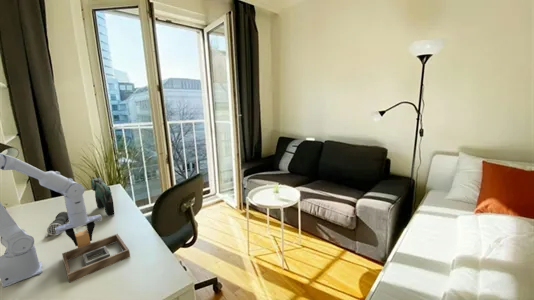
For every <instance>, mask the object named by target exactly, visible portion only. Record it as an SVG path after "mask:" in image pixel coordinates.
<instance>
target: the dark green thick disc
mask: <svg viewBox="0 0 534 300" xmlns="http://www.w3.org/2000/svg"><path fill="white" fill-rule="evenodd" d="M90 187H91V190H92V192H93V191H94V195H95V196H94V197H95V203H96V207H97V209H104V211H105V214H106V216H107V217H111V216H114V215H115V206H114V199H113V195H112V193H113V192H112V190H111V187H110V186H108V185H107V184H106V183H105V182H104V181H103V178H102V177H100V176H99V174H96V177H95V176H91V180H90Z"/></svg>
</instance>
